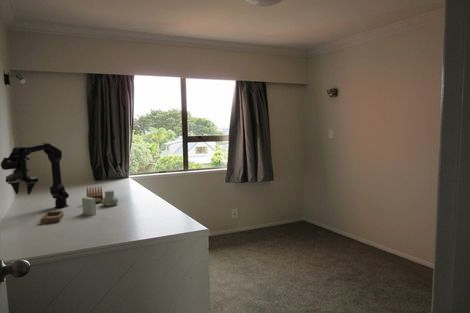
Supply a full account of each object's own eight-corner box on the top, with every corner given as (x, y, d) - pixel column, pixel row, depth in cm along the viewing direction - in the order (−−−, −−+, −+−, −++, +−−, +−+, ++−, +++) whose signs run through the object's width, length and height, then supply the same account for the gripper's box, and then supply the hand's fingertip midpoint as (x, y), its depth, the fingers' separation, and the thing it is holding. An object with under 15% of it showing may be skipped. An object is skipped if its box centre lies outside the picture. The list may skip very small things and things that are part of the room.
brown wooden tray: (46, 217, 198) (46, 212, 198) (63, 215, 202) (63, 210, 201) (41, 224, 184) (40, 219, 183) (59, 222, 187) (59, 217, 186)
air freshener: (100, 207, 222) (99, 192, 221) (102, 204, 230) (101, 190, 229) (118, 205, 224) (117, 191, 224) (118, 203, 232) (118, 189, 232)
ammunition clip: (86, 204, 231) (85, 187, 230) (86, 203, 233) (85, 187, 232) (103, 202, 236) (102, 186, 235) (103, 202, 237) (102, 185, 236)
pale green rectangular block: (82, 213, 205) (81, 197, 205) (87, 212, 208) (86, 196, 207) (91, 215, 201) (90, 199, 200) (96, 214, 203) (95, 198, 202)
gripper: (-5, 169, 190) (-3, 196, 191) (21, 169, 185) (22, 197, 186) (13, 167, 201) (15, 192, 202) (38, 167, 196) (39, 193, 197)
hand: (22, 194), depth 197 cm, fingers open, 9 cm apart
